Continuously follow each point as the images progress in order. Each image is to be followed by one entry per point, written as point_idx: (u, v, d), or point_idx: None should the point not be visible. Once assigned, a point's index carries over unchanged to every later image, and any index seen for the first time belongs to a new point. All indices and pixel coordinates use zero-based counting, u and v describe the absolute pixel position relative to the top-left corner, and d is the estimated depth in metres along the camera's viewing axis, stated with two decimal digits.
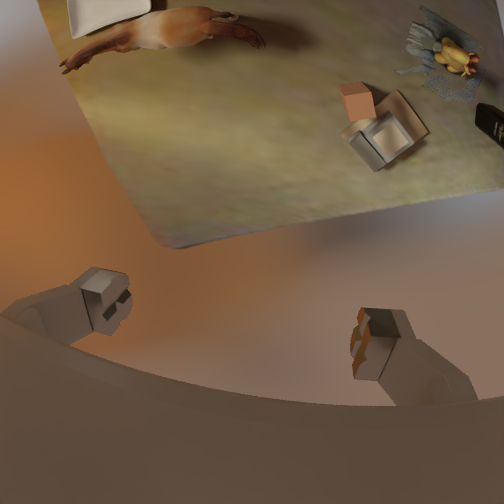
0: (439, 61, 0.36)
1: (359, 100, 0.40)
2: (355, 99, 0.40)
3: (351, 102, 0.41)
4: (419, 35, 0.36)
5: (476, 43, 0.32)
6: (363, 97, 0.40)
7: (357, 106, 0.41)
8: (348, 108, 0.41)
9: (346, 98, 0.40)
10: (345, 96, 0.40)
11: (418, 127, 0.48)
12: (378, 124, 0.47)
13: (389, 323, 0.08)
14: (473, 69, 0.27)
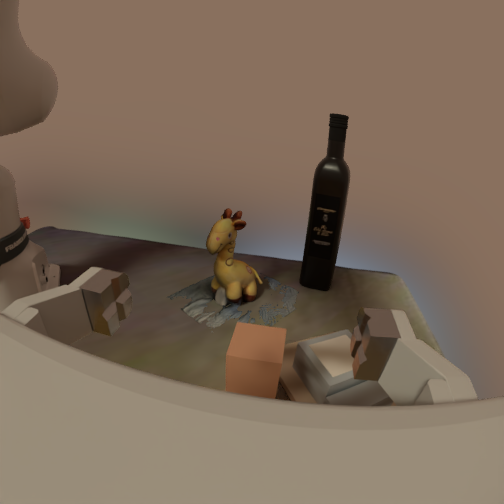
0: (236, 292, 0.44)
1: (245, 339, 0.25)
2: (241, 343, 0.24)
3: (244, 350, 0.23)
4: (200, 310, 0.44)
5: None
6: (242, 333, 0.25)
7: (255, 345, 0.24)
8: (253, 357, 0.23)
9: (232, 353, 0.23)
10: (228, 354, 0.23)
11: None
12: (310, 368, 0.29)
13: (389, 323, 0.08)
14: (238, 212, 0.40)
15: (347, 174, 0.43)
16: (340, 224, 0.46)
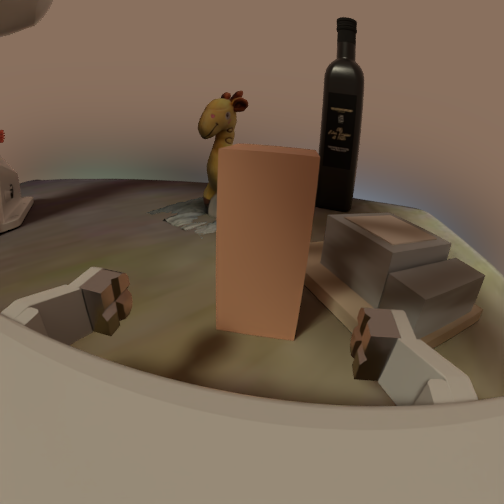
0: None
1: (252, 146, 0.15)
2: (245, 147, 0.14)
3: (250, 148, 0.13)
4: (188, 221, 0.34)
5: None
6: (247, 145, 0.15)
7: (269, 149, 0.14)
8: (268, 151, 0.13)
9: (230, 148, 0.13)
10: None
11: None
12: (353, 244, 0.19)
13: (389, 323, 0.08)
14: (238, 91, 0.30)
15: (361, 72, 0.33)
16: (358, 126, 0.36)
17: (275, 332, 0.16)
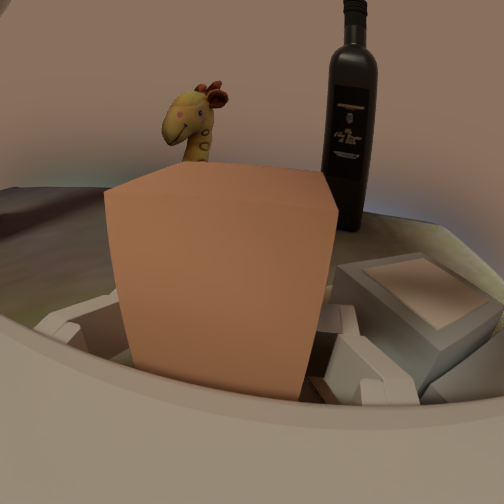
0: None
1: (194, 173, 0.07)
2: (174, 177, 0.07)
3: (177, 184, 0.06)
4: None
5: None
6: (190, 168, 0.08)
7: (225, 179, 0.07)
8: (208, 194, 0.05)
9: (129, 189, 0.06)
10: None
11: None
12: (375, 319, 0.12)
13: (332, 318, 0.08)
14: (215, 81, 0.22)
15: (374, 61, 0.26)
16: (371, 127, 0.29)
17: None
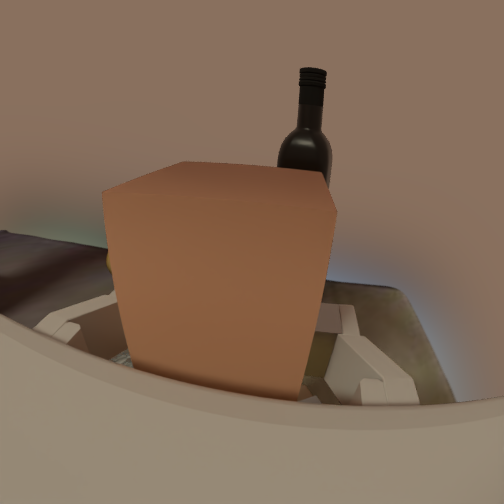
0: None
1: (192, 173, 0.07)
2: (173, 177, 0.07)
3: (175, 184, 0.06)
4: None
5: None
6: (189, 168, 0.08)
7: (223, 179, 0.07)
8: (207, 195, 0.05)
9: (127, 189, 0.06)
10: None
11: None
12: None
13: (332, 318, 0.08)
14: None
15: (326, 151, 0.29)
16: None
17: None
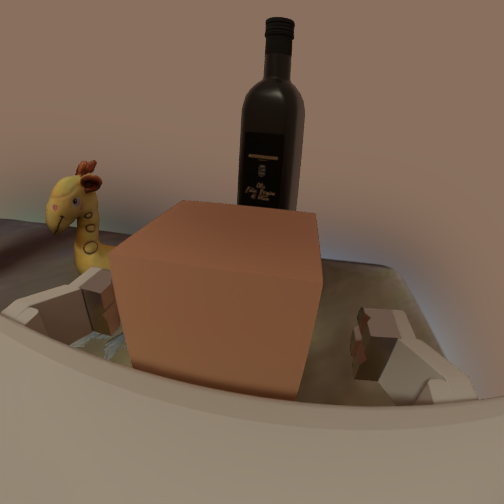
0: None
1: (191, 223, 0.08)
2: (173, 230, 0.07)
3: (176, 243, 0.07)
4: None
5: None
6: (188, 214, 0.09)
7: (221, 234, 0.07)
8: (205, 262, 0.06)
9: (131, 250, 0.06)
10: (118, 253, 0.06)
11: None
12: None
13: (389, 323, 0.08)
14: (89, 162, 0.20)
15: (294, 98, 0.25)
16: (288, 180, 0.28)
17: None
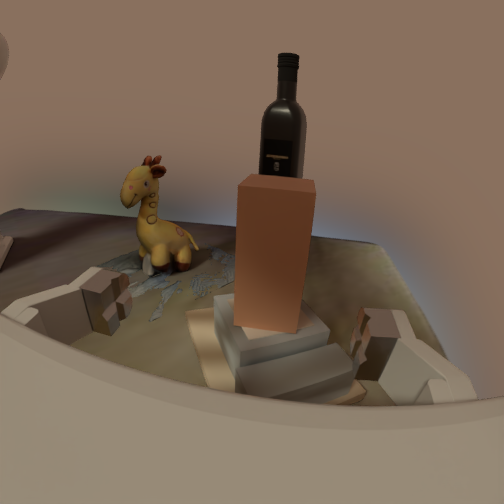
0: (161, 257, 0.35)
1: (263, 180, 0.19)
2: (257, 181, 0.18)
3: (262, 184, 0.18)
4: None
5: None
6: (258, 178, 0.20)
7: (277, 183, 0.18)
8: (276, 188, 0.17)
9: (246, 185, 0.17)
10: None
11: None
12: (225, 330, 0.22)
13: (389, 323, 0.08)
14: (156, 156, 0.31)
15: (299, 114, 0.36)
16: (295, 173, 0.39)
17: (281, 327, 0.20)
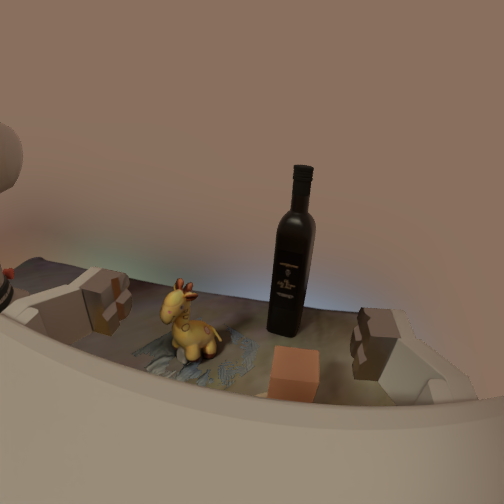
0: (194, 354, 0.43)
1: (285, 361, 0.27)
2: (281, 365, 0.27)
3: (285, 372, 0.26)
4: (162, 369, 0.43)
5: None
6: (281, 356, 0.28)
7: (294, 367, 0.27)
8: (294, 378, 0.25)
9: (275, 375, 0.25)
10: (271, 376, 0.25)
11: None
12: None
13: (389, 323, 0.08)
14: (188, 284, 0.39)
15: (310, 230, 0.45)
16: (303, 278, 0.48)
17: None
